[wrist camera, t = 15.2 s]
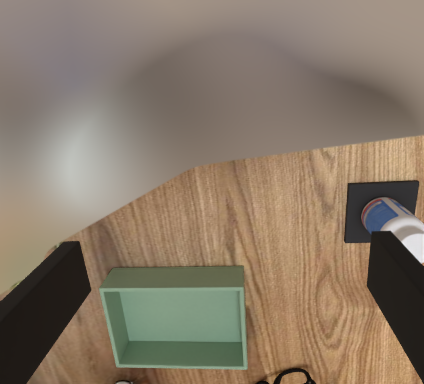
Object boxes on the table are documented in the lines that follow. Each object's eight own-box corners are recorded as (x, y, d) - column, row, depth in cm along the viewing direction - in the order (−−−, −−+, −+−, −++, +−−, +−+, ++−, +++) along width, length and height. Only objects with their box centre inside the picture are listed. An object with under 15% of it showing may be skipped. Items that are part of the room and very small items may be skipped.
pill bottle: (359, 232, 47) (387, 271, 38) (360, 197, 45) (390, 229, 36) (400, 230, 46) (438, 269, 37) (403, 194, 45) (444, 226, 35)
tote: (112, 267, 54) (98, 288, 48) (243, 265, 51) (243, 287, 46) (127, 341, 59) (116, 367, 53) (247, 342, 56) (247, 369, 51)
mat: (348, 183, 45) (349, 184, 45) (417, 180, 44) (419, 181, 44) (344, 241, 48) (345, 243, 48) (408, 239, 47) (410, 241, 47)
